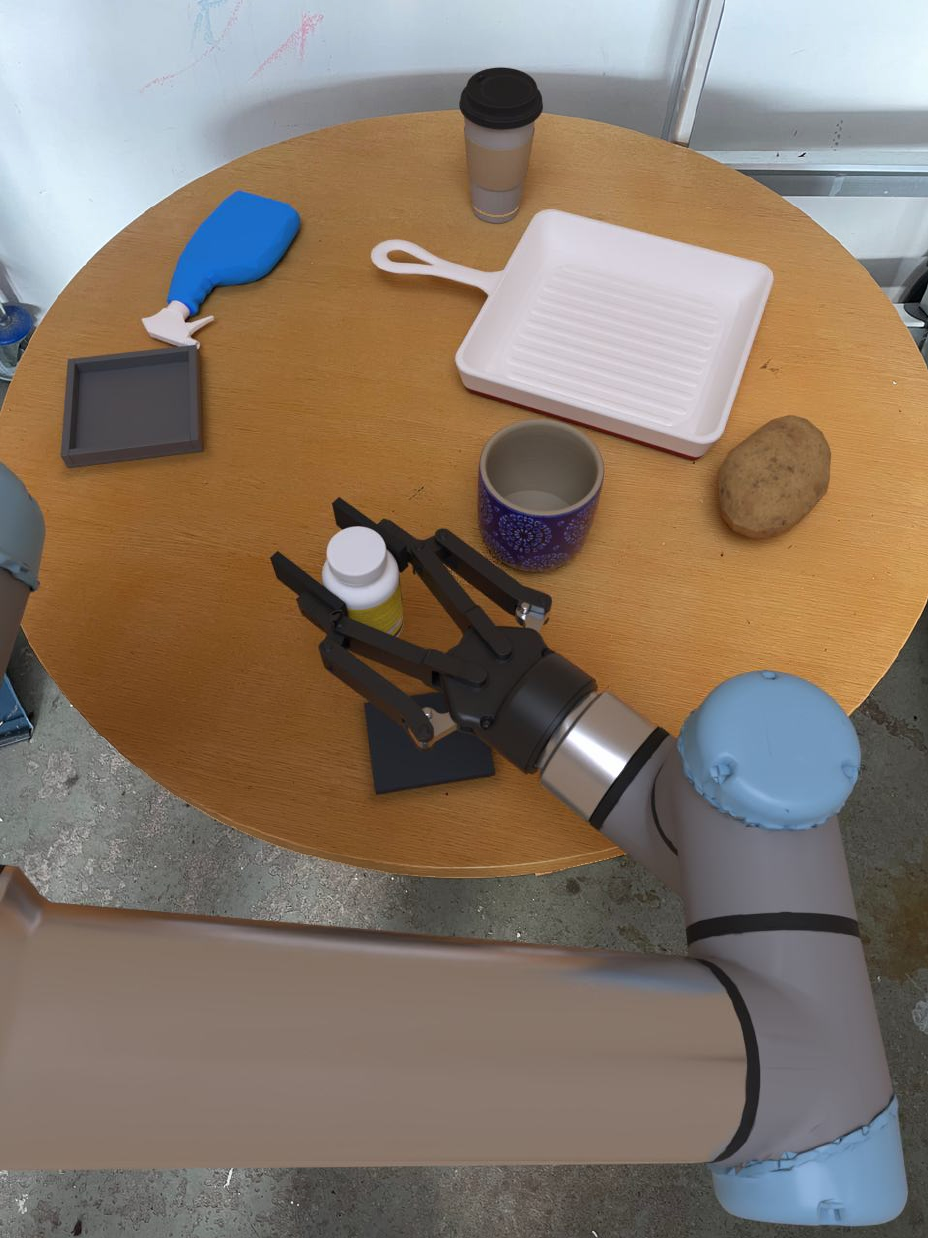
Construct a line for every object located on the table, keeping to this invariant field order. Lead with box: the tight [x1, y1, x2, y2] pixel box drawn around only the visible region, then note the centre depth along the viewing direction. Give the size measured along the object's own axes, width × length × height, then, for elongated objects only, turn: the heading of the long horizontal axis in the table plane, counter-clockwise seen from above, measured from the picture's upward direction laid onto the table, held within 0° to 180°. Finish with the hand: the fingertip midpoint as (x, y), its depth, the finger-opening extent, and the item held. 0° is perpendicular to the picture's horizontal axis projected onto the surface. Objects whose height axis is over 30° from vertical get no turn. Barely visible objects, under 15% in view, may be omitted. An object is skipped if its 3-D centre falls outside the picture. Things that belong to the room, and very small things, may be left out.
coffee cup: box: [458, 66, 544, 224], centre depth 102 cm, size 9×9×15 cm
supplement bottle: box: [321, 526, 405, 638], centre depth 62 cm, size 5×5×10 cm
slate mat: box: [363, 691, 496, 796], centre depth 73 cm, size 10×8×1 cm
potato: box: [718, 414, 832, 539], centre depth 83 cm, size 10×14×8 cm
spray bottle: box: [141, 189, 302, 350], centre depth 101 cm, size 3×11×24 cm
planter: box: [476, 418, 605, 573], centre depth 79 cm, size 11×11×11 cm
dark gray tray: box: [60, 345, 204, 469], centre depth 91 cm, size 14×14×2 cm
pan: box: [370, 208, 775, 461], centre depth 96 cm, size 28×44×5 cm, turn 68°
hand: (308, 537), depth 62 cm, fingers closed on supplement bottle, 5 cm apart
